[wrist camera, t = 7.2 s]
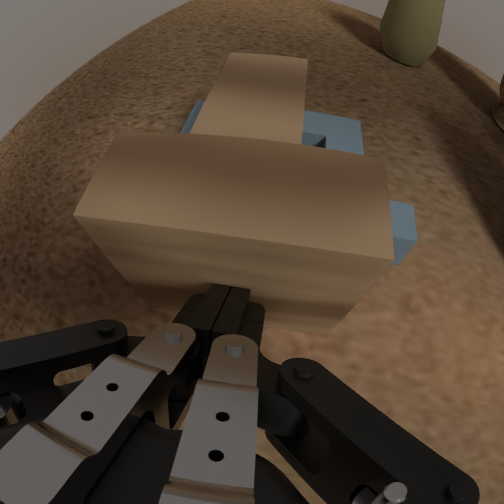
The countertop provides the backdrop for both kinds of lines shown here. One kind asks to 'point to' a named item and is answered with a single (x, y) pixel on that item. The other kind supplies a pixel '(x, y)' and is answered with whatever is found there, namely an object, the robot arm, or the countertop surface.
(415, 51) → the squeeze bottle
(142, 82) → the countertop surface
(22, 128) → the countertop surface
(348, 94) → the countertop surface
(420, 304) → the countertop surface
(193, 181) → the t block
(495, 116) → the vase
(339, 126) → the t socket
